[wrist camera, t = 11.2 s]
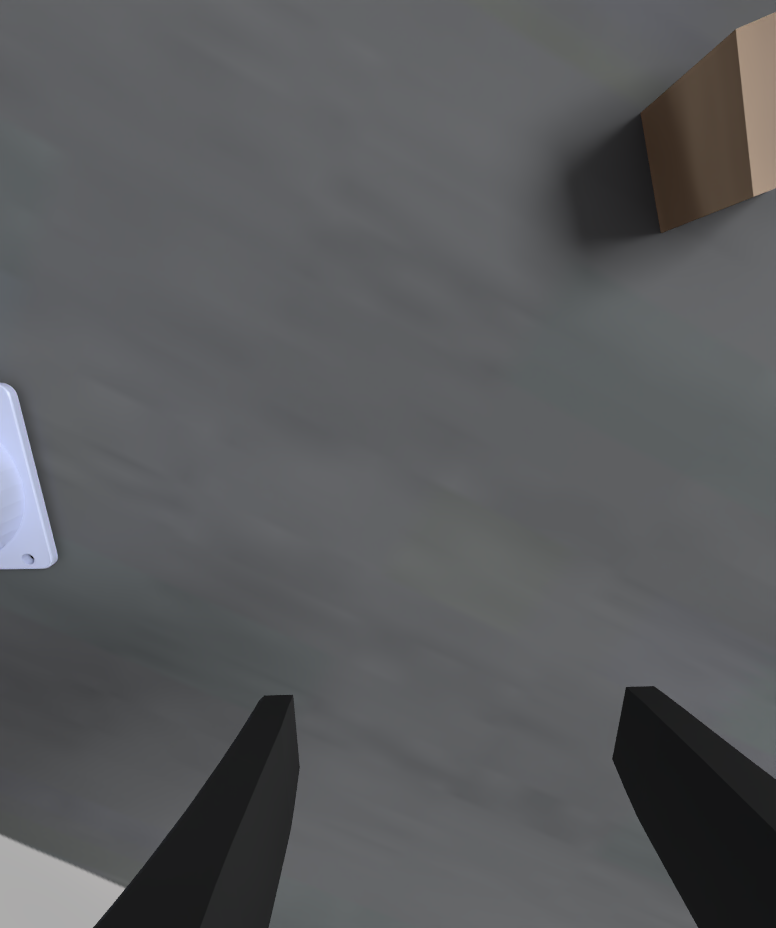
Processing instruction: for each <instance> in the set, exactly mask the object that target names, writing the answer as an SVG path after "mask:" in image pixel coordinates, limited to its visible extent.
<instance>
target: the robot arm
mask: <svg viewBox="0 0 776 928" xmlns="http://www.w3.org/2000/svg"><path fill="white" fill-rule="evenodd" d="M29 554H30V555H32V556H33V557H34V559H32V558H31V557H30V555H29ZM57 559H58V554H57V550H56V546H55V542H54V538H53V534H52V530H51V526H50V522H49V518H48V515H47V511H46V507H45V503H44V499H43V495H42V491H41V487H40V483H39V479H38V475H37V471H36V467H35V463H34V459H33V455H32V451H31V447H30V443H29V439H28V435H27V431H26V427H25V423H24V419H23V415H22V411H21V407H20V403H19V399H18V396H17V393H16V391H15V390H14V389H13V388H12V387H11V386H10V385H8V384H5V383H0V569H45V568H48V567H50V566H51V565H53V564H54V563H56V561H57ZM612 759H613V762H614V764H615V766H616V769H617V771H618V774H619V776H620V778H621V781H622V783H623V786H624V788H625V790H626V793H627V795H628V797H629V799H630V801H631V804H632V806H633V808H634V810H635V813H636V815H637V817H638V819H639V821H640V823H641V825H642V826H643V828H644V830H645V832H646V834H647V836H648V837H649V839H650V841H651V843H652V845H653V847H654V848H655V850H656V852H657V854H658V856H659V858H660V859H661V861H662V863H663V865H664V867H665V869H666V870H667V872H668V874H669V876H670V878H671V879H672V881H673V883H674V885H675V887H676V888H677V890H678V892H679V894H680V896H681V897H682V899H683V901H684V903H685V905H686V906H687V908H688V910H689V912H690V914H691V915H692V917H693V919H694V921H695V923H696V924H697V926H698V928H776V779H774V778H773V777H772V776H770V775H769V774H768V773H766V772H765V771H764V770H763V769H761V768H760V767H759V766H757V765H756V764H755V763H753V762H752V761H751V760H749V759H748V758H747V757H746V756H744V755H743V754H742V753H740V752H739V751H738V750H736V749H735V748H734V747H733V746H731V745H730V744H729V743H727V742H726V741H725V740H724V739H722V738H721V737H720V736H718V735H717V734H716V733H714V732H713V731H712V730H711V729H709V728H708V727H707V726H705V725H704V724H703V723H702V722H700V721H699V720H698V719H696V718H695V717H694V716H693V715H691V714H690V713H689V712H687V711H686V710H685V709H684V708H682V707H681V706H680V705H678V704H677V703H676V702H674V701H673V700H672V699H670V698H669V697H668V696H667V695H665V694H664V693H662V692H661V691H660V690H658V689H657V688H656V687H654V686H648V687H626V690H625V696H624V701H623V706H622V711H621V717H620V722H619V727H618V732H617V737H616V743H615V748H614V753H613V758H612ZM299 768H300V766H299V755H298V744H297V733H296V722H295V711H294V700H293V695H270V696H264V697H263V698H261V699H260V700H259V702H258V704H257V705H256V707H255V709H254V710H253V712H252V714H251V715H250V717H249V718H248V720H247V722H246V723H245V725H244V726H243V728H242V729H241V731H240V733H239V734H238V736H237V737H236V739H235V740H234V742H233V743H232V745H231V746H230V748H229V749H228V751H227V752H226V754H225V755H224V757H223V758H222V760H221V761H220V763H219V764H218V766H217V767H216V769H215V770H214V771H213V773H212V774H211V776H210V777H209V779H208V780H207V781H206V783H205V784H204V786H203V787H202V789H201V790H200V791H199V793H198V794H197V796H196V797H195V799H194V800H193V801H192V803H191V804H190V806H189V807H188V808H187V810H186V811H185V812H184V814H183V815H182V816H181V818H180V819H179V820H178V822H177V823H176V824H175V826H174V827H173V828H172V830H171V831H170V832H169V833H168V835H167V836H166V837H165V839H164V840H163V841H162V843H161V844H160V845H159V847H158V848H157V849H156V851H155V852H154V853H153V855H152V856H151V857H150V858H149V860H148V861H147V862H146V864H145V865H144V866H143V868H142V869H141V870H140V871H139V873H138V874H137V875H136V876H135V878H134V879H133V880H132V881H131V883H130V884H129V885H128V886H127V888H126V889H125V890H124V891H123V892H122V894H121V895H120V896H119V897H118V899H117V900H116V901H115V902H114V904H113V905H112V906H111V907H110V908H109V910H108V911H107V912H106V913H105V914H104V915H103V917H102V918H101V919H100V920H99V921H98V923H97V924H96V925H95V926H94V927H93V928H268V927H269V923H270V918H271V914H272V910H273V905H274V901H275V897H276V892H277V888H278V884H279V879H280V875H281V870H282V866H283V862H284V857H285V853H286V848H287V844H288V839H289V835H290V830H291V825H292V818H293V811H294V805H295V798H296V790H297V783H298V775H299Z"/></svg>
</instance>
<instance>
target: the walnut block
mask: <svg viewBox="0 0 776 928" xmlns="http://www.w3.org/2000/svg"><path fill="white" fill-rule="evenodd" d="M641 119H642V125H643V131H644V137H645V143H646V148H647V154H648V160H649V166H650V172H651V178H652V184H653V190H654V196H655V202H656V208H657V214H658V220H659V226H660V232H661V233H663V232H665V231H668V230H671V229H673V228H676V227H678V226H681V225H683V224H686V223H688V222H691V221H693V220H696V219H698V218H701V217H704V216H706V215H709V214H711V213H714V212H716V211H719V210H721V209H724V208H726V207H729V206H731V205H734V204H737V203H739V202H742V201H744V200H747V199H749V198H752V197H754V196H757V195H759V194H762V193H764V192H767V191H769V190H772V189H774V188H776V12H775V13H772V14H770V15H768V16H765V17H763V18H761V19H759V20H756V21H754V22H752V23H749V24H747V25H745V26H742V27H740V28H738V29H736V30H734V31H733V32H732V33H731V34H730V35H729V36H728V37H726V38H725V39H724V40H723V41H722V42H721V43H720V44H718V45H717V46H716V47H715V48H714V49H713V50H712V51H711V52H709V53H708V54H707V55H706V56H705V57H704V58H703V59H701V60H700V61H699V62H698V63H697V64H696V65H695V66H693V67H692V68H691V69H690V70H689V71H688V72H687V73H686V74H684V75H683V76H682V77H681V78H680V79H679V80H678V81H676V82H675V83H674V84H673V85H672V86H671V87H670V88H668V89H667V90H666V91H665V92H664V93H663V94H662V95H661V96H659V97H658V98H657V99H656V100H655V101H654V102H653V103H651V104H650V105H649V106H648V107H647V108H646V109H645V110H643V111H642V112H641Z"/></svg>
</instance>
